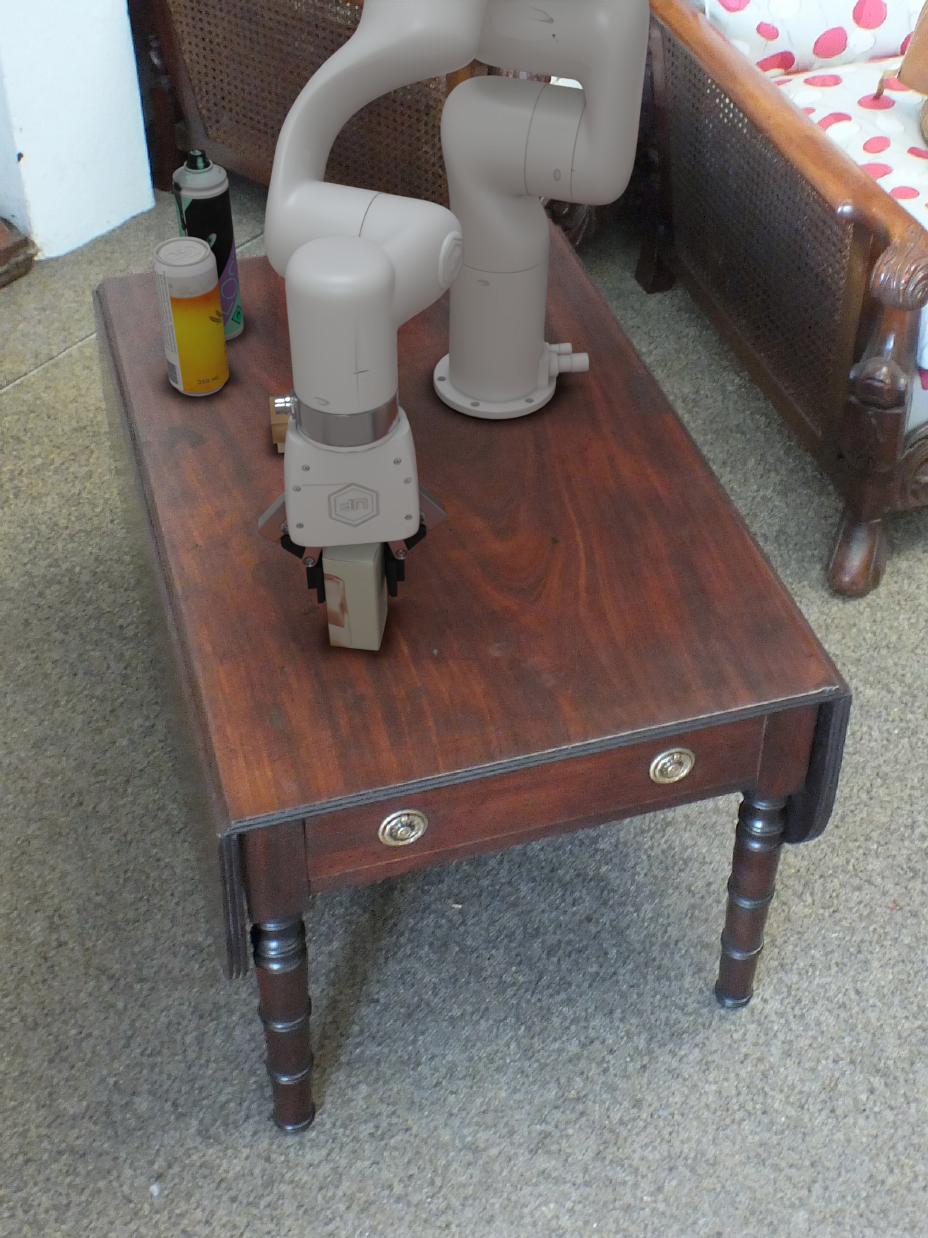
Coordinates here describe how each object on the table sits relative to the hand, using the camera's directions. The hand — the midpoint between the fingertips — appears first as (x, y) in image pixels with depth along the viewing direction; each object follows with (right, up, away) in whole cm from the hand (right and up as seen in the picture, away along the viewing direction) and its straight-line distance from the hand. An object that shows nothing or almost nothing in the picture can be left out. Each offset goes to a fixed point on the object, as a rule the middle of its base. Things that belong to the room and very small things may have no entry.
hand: (356, 587), depth 113 cm
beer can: (-18, +22, +29) cm, 40 cm away
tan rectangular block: (-4, +15, +23) cm, 27 cm away
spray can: (-18, +29, +36) cm, 50 cm away
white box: (0, -4, +4) cm, 5 cm away
